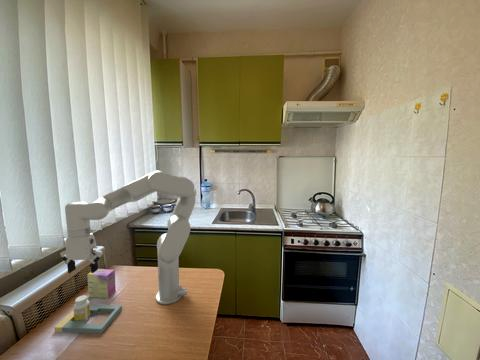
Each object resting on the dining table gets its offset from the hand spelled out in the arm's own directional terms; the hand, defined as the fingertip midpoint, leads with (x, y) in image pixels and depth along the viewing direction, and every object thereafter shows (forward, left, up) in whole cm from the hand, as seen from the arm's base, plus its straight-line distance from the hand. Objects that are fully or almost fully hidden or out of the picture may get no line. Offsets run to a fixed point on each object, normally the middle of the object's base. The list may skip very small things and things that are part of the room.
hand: (83, 271), depth 87 cm
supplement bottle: (+1, +2, -21) cm, 21 cm away
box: (+4, -15, -21) cm, 26 cm away
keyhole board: (-3, +2, -21) cm, 21 cm away
